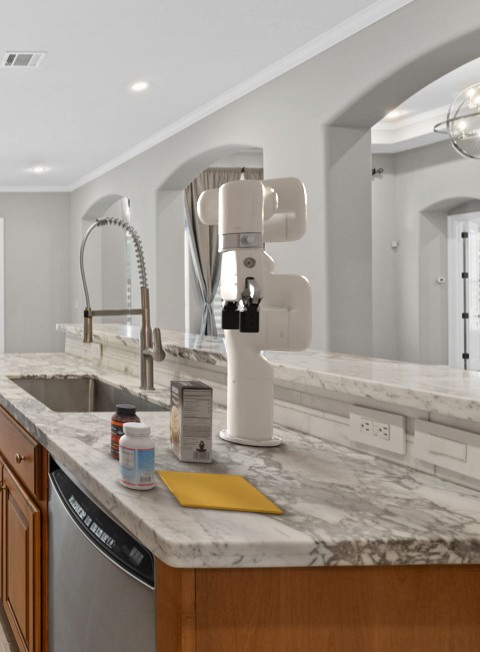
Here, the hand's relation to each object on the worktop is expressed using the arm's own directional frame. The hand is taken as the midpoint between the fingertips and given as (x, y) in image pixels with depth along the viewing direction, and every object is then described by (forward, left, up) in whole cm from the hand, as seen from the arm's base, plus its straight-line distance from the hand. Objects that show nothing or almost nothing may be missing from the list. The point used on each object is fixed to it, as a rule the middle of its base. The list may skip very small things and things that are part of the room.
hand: (239, 330), depth 107 cm
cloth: (+12, -8, -28) cm, 32 cm away
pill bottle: (+12, -21, -28) cm, 37 cm away
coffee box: (-10, -6, -28) cm, 31 cm away
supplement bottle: (-6, -20, -28) cm, 35 cm away
